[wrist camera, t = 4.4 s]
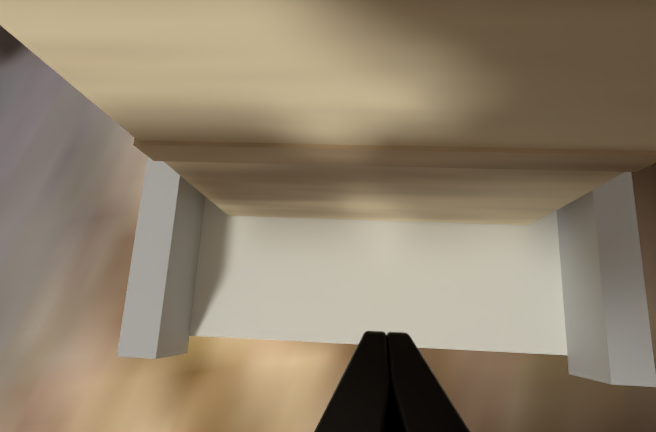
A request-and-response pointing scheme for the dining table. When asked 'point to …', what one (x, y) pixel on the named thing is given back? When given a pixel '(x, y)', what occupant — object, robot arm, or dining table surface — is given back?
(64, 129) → the dining table surface
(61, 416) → the dining table surface
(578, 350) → the box
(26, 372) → the dining table surface
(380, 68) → the cream flanged block
